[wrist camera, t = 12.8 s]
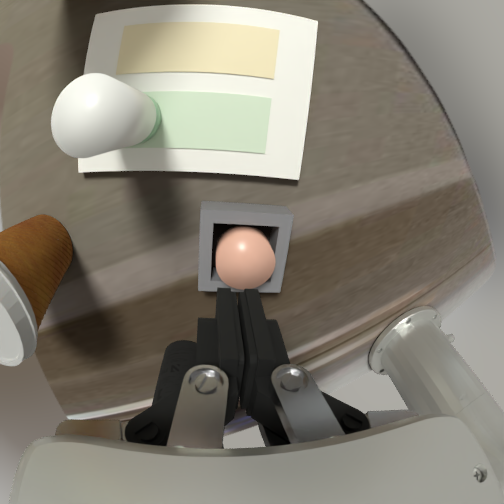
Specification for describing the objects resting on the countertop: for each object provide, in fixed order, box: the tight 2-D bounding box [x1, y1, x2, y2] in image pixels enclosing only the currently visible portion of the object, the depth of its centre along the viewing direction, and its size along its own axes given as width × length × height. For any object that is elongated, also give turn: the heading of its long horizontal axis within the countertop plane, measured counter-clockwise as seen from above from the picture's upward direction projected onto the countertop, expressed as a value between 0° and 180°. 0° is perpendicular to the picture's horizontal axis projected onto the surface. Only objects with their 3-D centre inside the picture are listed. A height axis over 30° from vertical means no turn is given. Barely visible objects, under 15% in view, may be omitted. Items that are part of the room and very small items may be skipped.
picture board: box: [78, 4, 318, 180], centre depth 17 cm, size 18×14×1 cm
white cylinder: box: [51, 73, 161, 158], centre depth 13 cm, size 4×4×9 cm
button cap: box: [215, 225, 276, 290], centre depth 21 cm, size 4×4×2 cm
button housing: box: [198, 201, 294, 292], centre depth 23 cm, size 7×7×2 cm
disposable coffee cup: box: [0, 215, 73, 366], centre depth 16 cm, size 10×10×12 cm
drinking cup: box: [152, 340, 224, 449], centre depth 20 cm, size 8×8×20 cm
